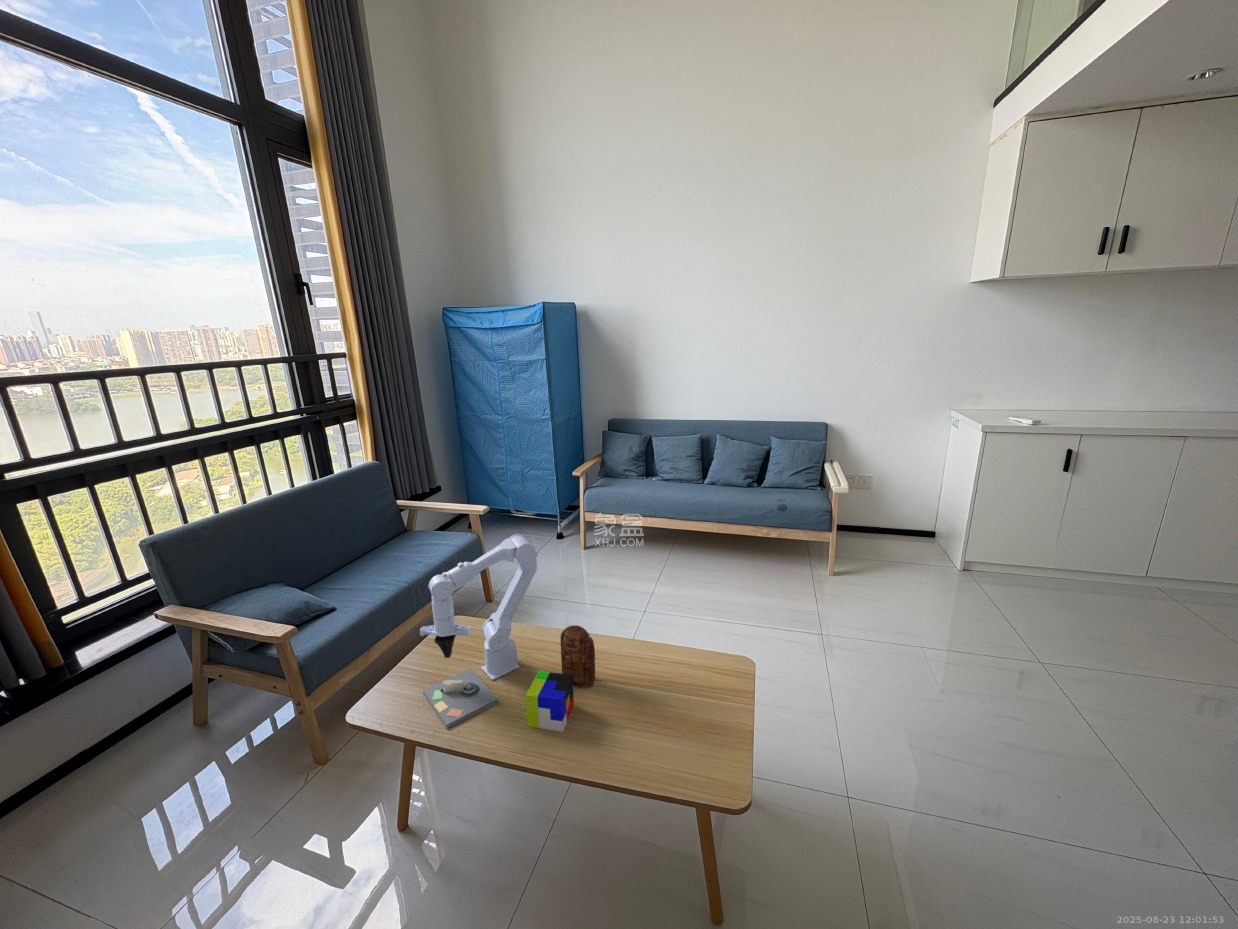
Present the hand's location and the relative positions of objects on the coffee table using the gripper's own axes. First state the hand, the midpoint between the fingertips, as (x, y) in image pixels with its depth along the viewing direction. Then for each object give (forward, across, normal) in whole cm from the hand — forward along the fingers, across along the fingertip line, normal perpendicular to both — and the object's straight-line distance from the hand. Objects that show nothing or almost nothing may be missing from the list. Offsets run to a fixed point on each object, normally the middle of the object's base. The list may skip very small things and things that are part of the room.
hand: (448, 655), depth 147 cm
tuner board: (+10, -5, +6) cm, 12 cm away
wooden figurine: (+10, -38, -2) cm, 40 cm away
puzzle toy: (+10, -33, +12) cm, 36 cm away
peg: (+9, -4, +5) cm, 11 cm away
